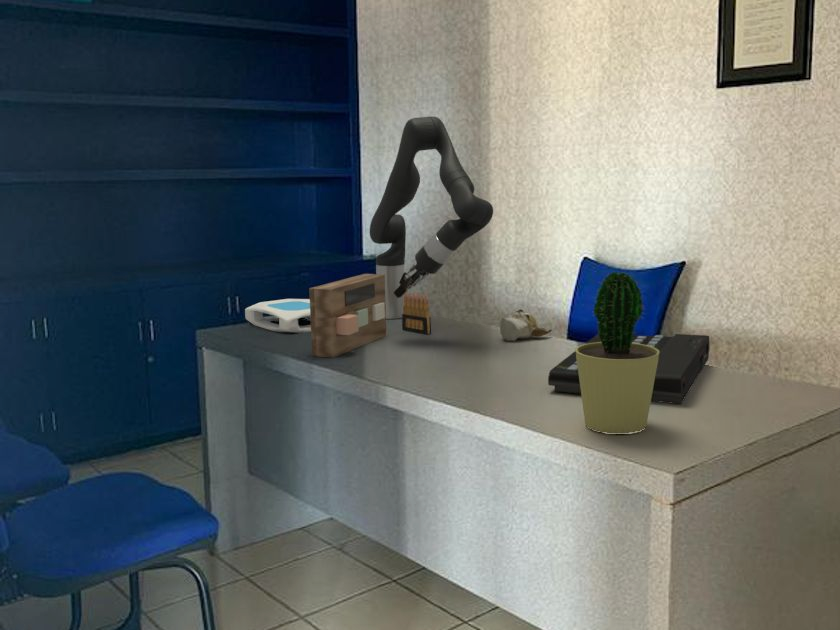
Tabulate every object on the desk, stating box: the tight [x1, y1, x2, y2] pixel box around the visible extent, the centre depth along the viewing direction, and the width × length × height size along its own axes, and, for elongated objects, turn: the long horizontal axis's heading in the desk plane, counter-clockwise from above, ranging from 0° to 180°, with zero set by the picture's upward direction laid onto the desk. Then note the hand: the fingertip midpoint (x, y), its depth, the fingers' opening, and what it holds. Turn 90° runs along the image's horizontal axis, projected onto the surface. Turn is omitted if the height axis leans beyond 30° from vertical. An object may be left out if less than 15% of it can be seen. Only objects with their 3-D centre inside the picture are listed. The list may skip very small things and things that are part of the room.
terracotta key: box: [336, 314, 359, 335], centre depth 228 cm, size 6×5×4 cm
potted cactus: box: [574, 271, 659, 433], centre depth 161 cm, size 15×15×30 cm
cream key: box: [372, 302, 385, 321], centre depth 246 cm, size 6×5×4 cm
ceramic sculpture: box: [499, 309, 553, 342], centre depth 243 cm, size 11×9×15 cm
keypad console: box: [308, 273, 387, 358], centre depth 238 cm, size 7×30×18 cm, turn 155°
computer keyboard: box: [547, 333, 711, 404], centre depth 201 cm, size 45×28×7 cm, turn 155°
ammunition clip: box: [401, 291, 432, 336], centre depth 255 cm, size 11×2×12 cm, turn 45°
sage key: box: [355, 308, 368, 327], centre depth 238 cm, size 6×5×4 cm
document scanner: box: [244, 298, 311, 334], centre depth 272 cm, size 21×28×6 cm
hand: (396, 295), depth 242 cm, fingers closed
